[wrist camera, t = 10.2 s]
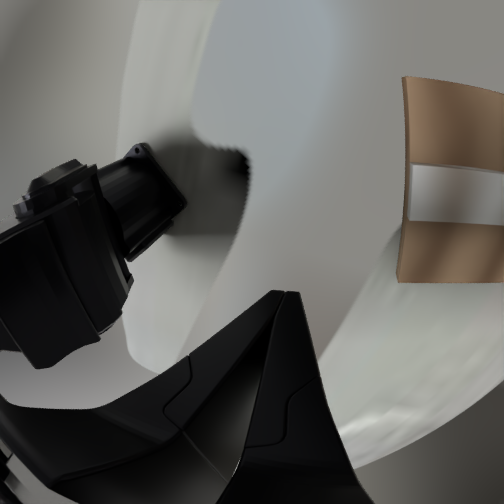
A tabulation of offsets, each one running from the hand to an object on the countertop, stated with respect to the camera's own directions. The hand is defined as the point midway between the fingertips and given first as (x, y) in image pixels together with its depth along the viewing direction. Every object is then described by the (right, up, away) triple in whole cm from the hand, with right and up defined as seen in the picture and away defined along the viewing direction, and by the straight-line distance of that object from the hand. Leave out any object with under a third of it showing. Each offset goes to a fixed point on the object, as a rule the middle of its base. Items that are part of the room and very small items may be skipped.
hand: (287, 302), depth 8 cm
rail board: (+18, +6, +5) cm, 19 cm away
